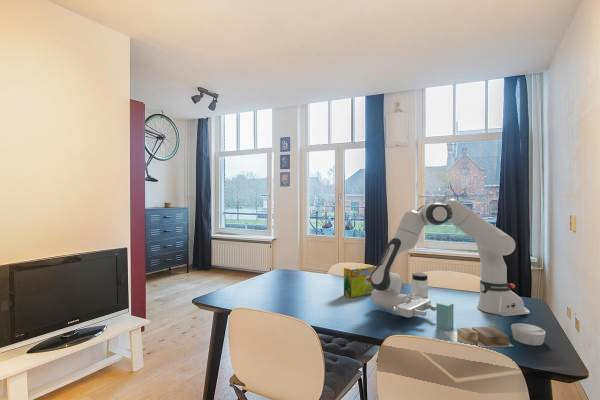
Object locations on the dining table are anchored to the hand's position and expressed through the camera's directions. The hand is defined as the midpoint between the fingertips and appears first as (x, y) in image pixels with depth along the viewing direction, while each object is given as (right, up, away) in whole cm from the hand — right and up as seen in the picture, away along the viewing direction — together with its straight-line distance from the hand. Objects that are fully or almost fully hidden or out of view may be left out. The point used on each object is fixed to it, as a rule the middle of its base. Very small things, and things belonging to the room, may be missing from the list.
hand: (430, 311), depth 149 cm
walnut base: (+16, -5, -18) cm, 25 cm away
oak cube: (+6, -5, -21) cm, 22 cm away
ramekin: (+31, -6, -18) cm, 36 cm away
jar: (+10, -5, +43) cm, 44 cm away
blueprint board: (+12, -6, -16) cm, 21 cm away
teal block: (+4, -6, -5) cm, 9 cm away
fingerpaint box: (-23, -5, +46) cm, 52 cm away
